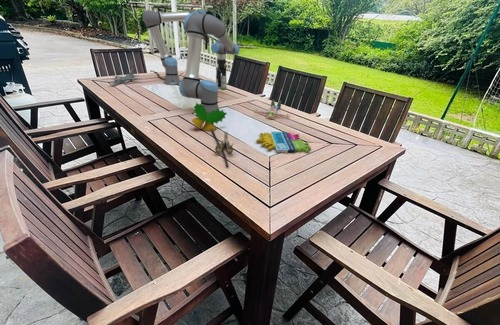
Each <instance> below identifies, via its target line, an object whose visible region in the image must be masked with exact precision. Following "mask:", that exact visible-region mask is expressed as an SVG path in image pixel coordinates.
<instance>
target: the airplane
mask: <svg viewBox="0 0 500 325" xmlns="http://www.w3.org/2000/svg"><path fill="white" fill-rule="evenodd" d="M111 77H114V81H113V82H111V83H110V84H109V87H114V86H117V85H119V84H123V83H124V84H127V83H129V82H135V81H137V80H142V79H143V78H142V77H140V75H138V74H134V67H132V68H131V70H130V72H129V73H125V75H124V76H123V75H113V74H112V75H111ZM139 77H140V78H139Z"/></svg>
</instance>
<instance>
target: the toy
mask: <svg viewBox="0 0 500 325" xmlns="http://www.w3.org/2000/svg"><path fill="white" fill-rule="evenodd" d="M281 107H282V100H280V99H279V101H278V102H277V104H276V103H275V99H272V100H271V103H270V108H268V110H267V111H264V110H260V111H259V110H258V109H257V108H256V109H255V110H252V111H253V114H263V115H265V118H267V119H269V120H273V119H276V116H278V117H284V118H287V119H290V117H291V115H290V114H289V113H287V114H282V113H280V112H277V111H278V110H280V109H281Z"/></svg>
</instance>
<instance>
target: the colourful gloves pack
mask: <svg viewBox="0 0 500 325" xmlns="http://www.w3.org/2000/svg"><path fill="white" fill-rule="evenodd" d="M299 136H300V135H299V134H298V133H296V134H294V133H291V132H287V131H270V132H264V133H263V132H260V133H259V139H258V138H257V139H256V143H257V144H261V148H263V147H264V148H265V149H267V151H268V152H271V151H272V150H273V149H275V152H276V153H283V154H285V153H287V154H288V153H290V154H293V153H296V152H298V153H301V152H305V153H310V151H311V150H312V149H311V148H312V146H309V142H304V141H303V139H302V138H299Z"/></svg>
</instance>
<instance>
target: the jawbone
mask: <svg viewBox="0 0 500 325" xmlns="http://www.w3.org/2000/svg"><path fill="white" fill-rule="evenodd" d="M223 135H224V136H223V140H222V139H221V142H220V145H218V143H217V141H215V144H216V146H215V148H214V149H215V152H214V154H215V155H217V156H218V155H220V153H222V150H223V151H224V150H226V152H227V153H228V155H229V156H233V155H234V154H233V153H234V148H233V144H234V143H230V140H228V139H229V138H228V137H229V136H228V135H229V133H228V131H226V132H224V134H223Z"/></svg>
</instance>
